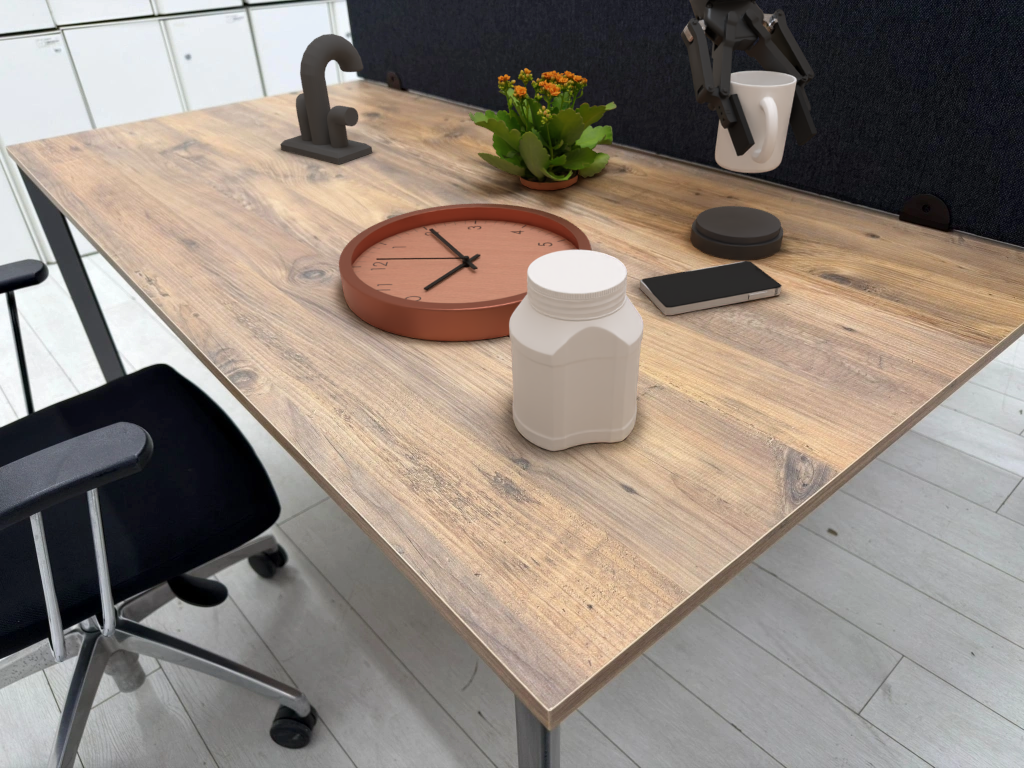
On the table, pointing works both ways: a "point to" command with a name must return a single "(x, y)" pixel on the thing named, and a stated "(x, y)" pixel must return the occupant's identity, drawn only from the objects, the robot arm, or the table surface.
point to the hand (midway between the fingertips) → (777, 144)
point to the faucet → (325, 105)
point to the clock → (450, 268)
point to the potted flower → (546, 132)
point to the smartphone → (709, 287)
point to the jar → (575, 351)
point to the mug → (759, 120)
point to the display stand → (737, 233)
